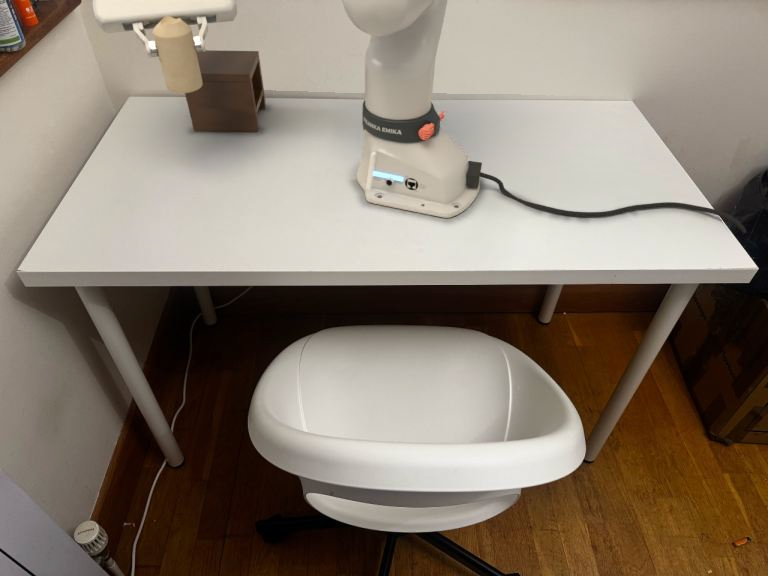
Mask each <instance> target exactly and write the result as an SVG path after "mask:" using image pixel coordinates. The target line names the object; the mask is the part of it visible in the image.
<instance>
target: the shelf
mask: <svg viewBox="0 0 768 576" xmlns="http://www.w3.org/2000/svg"><path fill="white" fill-rule="evenodd" d="M205 50H206V51H205V52H196V53H197V58H198V63H199V67H200V72H201V77H202V84H203V85H202V87H201V88H200V89H198V90H196V91H193V92H189V93H184V95H185V100H186V104H187V107H188V108H187V109H188V112H189V116H190V120H191V124H192V128H193V132H210V133H211V132H212V133H213V132H217V133H219V132H220V133H221V132H223V133H259V131H260V125H259V120H258V112H259V110H266V109H267V101H266V96H265V89H264V82H263V75H262V66H261V60H260V52H259V50H208V49H205Z"/></svg>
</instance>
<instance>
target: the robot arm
mask: <svg viewBox="0 0 768 576" xmlns="http://www.w3.org/2000/svg"><path fill="white" fill-rule="evenodd" d="M91 1H92V2H91V3H92V10H93V15H94V18H95V21H96V23H97V25H98V27H99V28H100V29H101V30H102V31H103V32H105V33H106V34H115V33H116V34H117V33H123V32H124V33H125V32H134V35H135V37H136V39H137V40H139V42H140V43H141V44H142V45H143V46H144V48H145V51H146V54H147V57H148V59H149V58H150V59H151V58H159V55H158V51H157V48H156V44H155V41H154V40H149V39H148V38H147V37H146V36H147V34H146V31H147V30H153V29H154V27H155V26H156V25H157V24H158V23H159V22H160V21H161V20H162V19H163V18H164V17H166V16H171V17H173V18H175V19H178V18H181V19H182V20H183V21H184V22H185V23H186V24H188V25H189V26H195V25H197V27H198V31H199V32H198V35H197V36H193V40H194V45H195V50H196V52H205V51H206V50H207V49H206V45H205V40H206V38H207V34H208V31H209V25H208V24H215V23H227V22H233V21H234V20H235V19H236V17H237V15H238V4H237V1H236V0H91ZM341 2H342V4H343V5H342V6H343V9H344V11H345V13H346V15H347V17H348V19H349V20H350V21H351V23H352V24H353V25H354V26H355V27H356V28H357V29H358V30H360V31H361V32H362V33H365V34H367V35H370V38H369V42H368V46H367V48H366V51H365V55H364V100H363V101H362V111H361V112H362V113H361V114H362V115H361V117H362V121H361V122H362V128H363V132H364V134H363V144H362V150H361V157H360V161H359V165H358V168H357V171H356V181H357V183H358V185H359V186H360V187H361V189H362V190H363V191H364V196H365V200H366V201H367V202H368V203H370V204H375V205H379V206H380V205H381V206H384V207H389V208H394V209H398V210H405V211H409V212H412V213H413V212H414V213H419V214H424V215H428V216H433V217H438V218H443V219H444V218H445V219H450V218H453V217H455V216H458V215H460V214H461V213H463V212H464V211H466V210H468V208H469V207H470V206H471V205H472V204H473V203H474V201H475V199H476V198H477V197H478V195H479V192H480V190H481V189H480V188H481V180H480V179H481V178H483V179H487V180H489V181H492V182H494V183H496V184H497V185H498V188H499V190H500V192H501V193H502V194H503V195H505V196H506V197H508V198H509V199H511V200H514V201H516V202H518V203H520V204H522V205H524V206H526V207H529V208H532V209H536V210H541V211H545V212H549V213H553V214H557V215H562V216H569V217H570V216H571V217H581V218H582V217H584V218H585V217H586V218H588V217H589V218H591V217H592V218H596V217H597V218H598V217H607V216H608V217H609V216H613V215H618V214H622V213H626V212H630V211H635V210H644V209H655V208H666V207H667V208H680V209H686V210H692V211H697V212H703V213H707V214H712V215H715V216H719V217H721V218H723V219H726V220H727V221H729V222H731V223H732V224H733V225H734V226H736V227H737V228H738V230H739V231H740V232H741V233H743V234H747V233H748V232H747V229H746V227H745V226H744V225H743V224H742V222H741V221H739V220H738V219H737V218H736V217H734V216H732V215H730V214H729V213H726V212H724V211H721V210H718V209H715V208H711V207H706V206H701V205H694V204H690V203H683V202H671V201H670V202H669V201H668V202H667V201H666V202H665V201H664V202H653V203H643V204H642V203H641V204H634V205H628V206H625V207H621V208H620V207H619V208H615V209H612V210H606V211H573V210H565V209H560V208H557V207H553V206H552V207H551V206H548V205H543V204H539V203H534V202H531V201H527V200H524V199H522V198H519V197H517V196H515V195H514V194H512V193H511V192H510V191H508V190H507V189H506V188H505V185H504V183H503V181H502V180H501V179H500V178H498V177H496V176H494V175H491V174H488V173H485V172H482V168H483V167H482V166H483V162H481V161H480V162H479V161H474V160H473V161H472V160H469V158H468V154H467V152H466V151H465V149H463V148H462V146H460V145H459V144H458V143H457V142H456V141H455V140H454V139H453V138H451V136H450V135H448V133H447V132H445V130H443V129H442V127H441V122H442V120H444V118H445V113H446V111H445V110H442V111H441V112H440V113H439V114H438V112H437V111H436V109H435V106H434V103H433V90H434V78H435V67H436V60H437V59H436V58H437V52H438V47H439V43H440V38H441V36H442V30H443V25H444V20H445V15H446V10H447V7H448V6H447V5H448V0H342V1H341Z"/></svg>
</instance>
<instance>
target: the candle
mask: <svg viewBox="0 0 768 576" xmlns="http://www.w3.org/2000/svg"><path fill="white" fill-rule="evenodd" d="M151 31H152V37H153V41H155V44H156V48H157V51H158V55H159V57H158V60H159V63H160V68H161V71H162V75H163V79H164V83H165V86H166V89H167V90H168V91H169V92H172V93H175V94H185V93H189V92H193V91H196V90H198V89H200V88H201V87H202V85H203V84H202V77H201V72H200V67H199V63H198V58H197V53H196V50H195V45H194V40H193V37H194V35H193V30H192V27H191V25H188V24H186V23H185V22H184V21H183V20H182V19H181V18H178V19H175V18H173V17H171V16H166V17H164V18H163V19H162V20H161V21H160V22H159V23H158V24H157V25H156V26H155V27H154V29H152V30H151Z"/></svg>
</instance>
